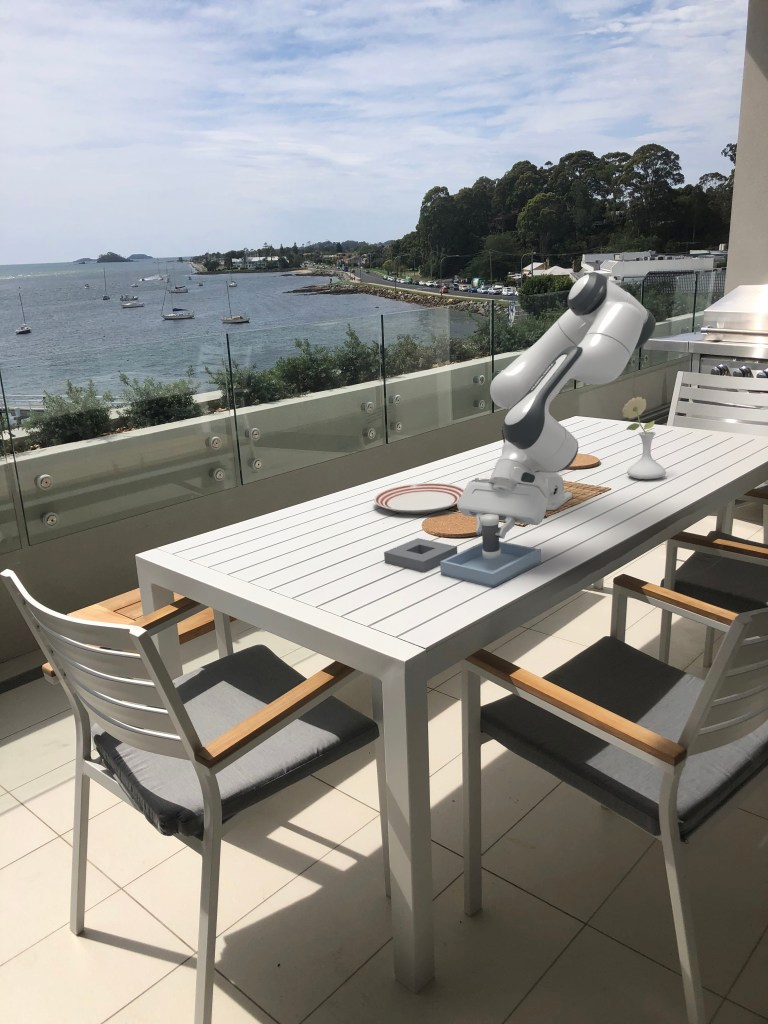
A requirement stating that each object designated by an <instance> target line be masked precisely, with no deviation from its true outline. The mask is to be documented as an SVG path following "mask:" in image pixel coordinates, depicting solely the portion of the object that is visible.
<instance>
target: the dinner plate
mask: <svg viewBox="0 0 768 1024" xmlns="http://www.w3.org/2000/svg"><path fill="white" fill-rule="evenodd" d="M464 490H465V488H464V487H461V486H459V485H456V484H451V483H443V482H441V483H439V482H421V483H411V484H405V485H399V486H394V487H391V488H387V489H385V490H383V491H381V492H379V493H377V494H376V495H375V496H374V498H373V501H374V504H376V506H378V507H381V508H383V509H386V510H390V511H394V512H398V513H400V514H401V513H402V514H411V515H413V514H415V515H416V514H429V513H435V512H436V513H437V512H441V511H444V510H446V509H449V508H452V507H454V506H457V503H458V501H459V499H460V497H461V495H462V493H463V492H464Z"/></svg>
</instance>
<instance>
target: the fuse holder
mask: <svg viewBox="0 0 768 1024" xmlns="http://www.w3.org/2000/svg"><path fill="white" fill-rule="evenodd" d="M383 554H384V563H387V564H390V565H394V566H397V567H402V568H406V569H408V570H409V569H410V570H414V571H418V572H421V573H426V572H429V571H430V570H433V569H434V568H436V567H440V561H442V560H445V559H447V558H449V557H451V556H453V555H455V554H458V546H456V545H452V544H447V543H443V542H437V541H433V540H429V539H424V538H419V537H418V538H414V539H411V540H410V541H408V542H405V543H402V544H401V545H398V546H396V547H393V548H391V549H389V550H386V551H383Z"/></svg>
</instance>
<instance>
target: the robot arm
mask: <svg viewBox="0 0 768 1024" xmlns="http://www.w3.org/2000/svg"><path fill="white" fill-rule="evenodd" d="M567 306H568V309H567V310H566V311H565V312H564V313H563V314H562V315H561V316H560V317H559V318H558V319H557V320H556V321H555V322H554V323H553V324H552V325H551V326H550V327H549V329H548V330H546V331H545V333H543V335H542V336H541V337H540V338H539V339H538V340H537V341H536V342H534V344H533V345H532V346H530V347H529V348H528V349H526V350H525V351H524V352H522V353H521V354H520V355H519V356H518V357H517V358H515V360H513V361H512V362H511V363H509V365H508V366H507V367H505V368H504V369H503V370H502V371H501V372H499V373H497V375H496V376H495V377H493V379H492V381H491V383H490V385H489V386H490V387H489V393H490V397H491V400H492V402H494V404H495V405H496V406H497V407H499V408H501V409H505V410H508V411H507V412H506V414H505V416H504V418H503V423H502V424H503V425H502V426H503V433H504V437H505V443H504V442H503V446H502V448H501V455H500V457H499V458H498V459H497V461H496V463H495V465H494V468H493V471H492V473H491V475H490V478H480V477H476V478H474V479H472V480H469V481H468V482H467V485H466V487H465V488H464V489H465V490H464V492H463V493H462V495H461V497H460V499H459V501H458V503H457V504H456V506H457V509H458V511H459V512H460V513H461V514H462V515H463V516H467V517H474V518H475V519H476V520H475V521H476V524H477V526H476V529H475V534H476V535H477V536H482V525H481V524H480V516H482V515H485V514H496V515H498V516H499V521H503V522H505V523H504V524H502V526H501V527H498V528H497V532H496V533H495V535H496V536H497V538H499V539H502V540H503V539H505V537H506V535H507V533H509V531H510V530H512V529H513V528H514V527H515V525H516V524H526V525H532V526H539V524H541V523H542V522H543V520H544V518H545V515H546V511H554V510H555V511H556V510H558V509H559V508H560V507H561V506H562V505H564V504H565V503H566V502H568V501H569V500H571V499H572V498H573V493H572V492H570V491H566V490H565V486H564V484H565V483H564V478H563V476H561V475H560V474H559V472H563V471H565V470H567V469H568V468H570V466H571V465H572V464H573V463H574V462H575V460H576V457H577V455H578V453H579V441H578V440H577V438H576V437H575V436H574V435H573V434H572V433H571V432H570V431H569V430H568V429H567V428H566V427H565V426H563V425H562V424H561V423H559V421H557V419H555V418H554V417H553V416H552V415H551V414H550V412H549V411H550V406H551V405H550V404H551V403H552V401H553V400H554V399H555V398H556V396H557V395H558V394H559V392H560V391H561V390H562V389H563V387H564V386H565V385H566V384H567V383H568V382H569V380H571V379H573V380H575V381H578V382H580V383H583V384H588V385H595V386H596V385H598V386H599V385H600V386H601V385H605V384H609V383H611V382H613V381H615V380H616V379H618V378H619V377H620V376H621V374H622V373H623V372H624V370H625V369H626V366H627V364H628V363H629V361H630V358H631V357H632V355H633V353H634V352H635V350H639V349H640V348H641V347H643V346H644V345H645V344H646V343H647V342H648V341H649V340H650V338H651V337H652V336H653V334H654V332H655V330H656V324H657V321H656V320H657V319H656V318H655V317H654V314H653V313H652V312H651V311H650V310H649V309H648V308H645V307H644V306H643V304H642V303H640V302H639V300H638V299H636V297H634V296H633V295H632V294H631V293H630V292H628V291H625V289H623V288H621V287H620V286H618V285H617V284H615V283H614V282H612V281H611V280H609V279H608V278H607V276H605V275H603V274H602V273H599V272H596V271H591V272H588V273H585V274H584V275H582V276H581V277H580V278H579V279H578V280H576V282H575V283H574V284H573V285H572V287H571V289H570V291H569V294H568V295H567Z"/></svg>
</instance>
